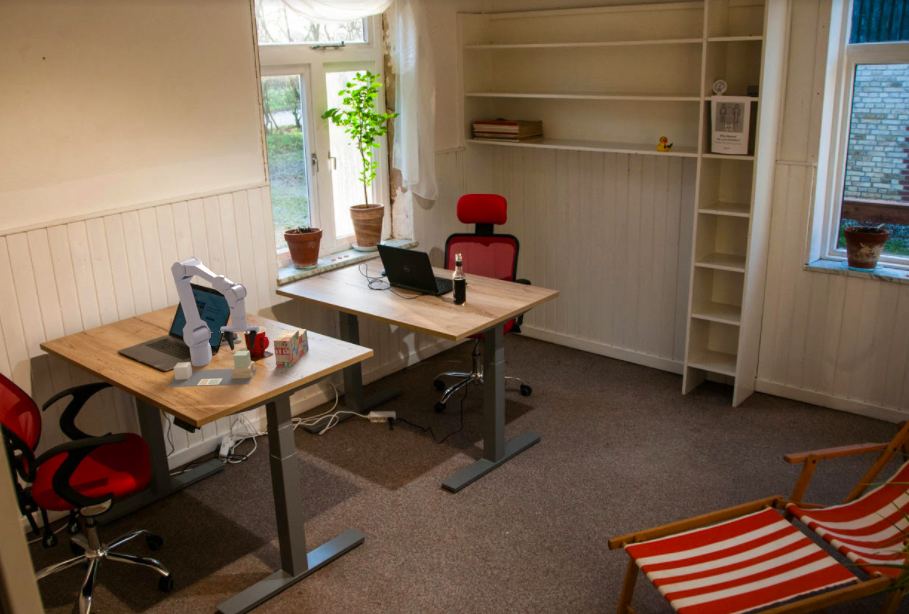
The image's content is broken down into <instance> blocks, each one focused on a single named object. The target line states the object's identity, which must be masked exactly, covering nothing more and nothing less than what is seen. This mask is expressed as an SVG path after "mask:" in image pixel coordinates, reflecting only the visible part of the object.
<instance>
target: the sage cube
mask: <svg viewBox="0 0 909 614" xmlns="http://www.w3.org/2000/svg"><path fill="white" fill-rule="evenodd" d="M251 358H252V357H251V352H250V350H236V351H235V353H234V354H233V365H235V368H246V367H249V365H250V363H251V362H252V360H251Z"/></svg>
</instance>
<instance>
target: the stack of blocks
mask: <svg viewBox="0 0 909 614" xmlns="http://www.w3.org/2000/svg"><path fill="white" fill-rule="evenodd" d="M273 347H274V348H273V349H274V357H275V366H276V367H282V368H292V367H293V366H294V364H296V363H297V361H299V359H300V358H301V357H302V356H303V355H305V354H306V353H307V352H308V351H309V350H310V349H309V348H310V347H309V339H308V333H307V329H306V328H304V329H303V328H300V329H299V328H293V329H292V328H291V329H283V330H282V331H281V333H280V334H279V335H278V336H277V337H275V338H274V339H273Z"/></svg>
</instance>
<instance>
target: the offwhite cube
mask: <svg viewBox="0 0 909 614" xmlns="http://www.w3.org/2000/svg"><path fill="white" fill-rule="evenodd" d="M192 370H193V368H192V361H191V362H189V361H186V362H185V361H184V362H177V363H176V364H175V365H174V366H173V372H174V378H175V380H177V379H189V378H190V376H191V375H192Z"/></svg>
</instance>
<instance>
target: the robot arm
mask: <svg viewBox="0 0 909 614" xmlns="http://www.w3.org/2000/svg"><path fill="white" fill-rule="evenodd" d="M170 270H171V273H172V277H173V281H174V285H175V288H176V291H177V294H178V298H179V301H180V305H181V308H182V311H183V314H184V318H185V321H186V323H185V325H184V327H183V328H182V332H183V336H182V337H183V341H184V343H185V345H187V347H189V353H190V359H191V366H193V367H204V366H208V365H209V364H211V361H212V359H213V353H212V347H211V345H210V343H209V339H210V338H211V333H212V331H211V329H210V328H209V326H208V324H207V322H206V321H204V320H202V319H201V316H200V312H199V310H198V306H197V302H196V299H195V296H194V292H193V289H192V286H191V281H192V279H193V277H194V276H198V277H200V278H201V279H203V280H204V281H207V282H209V283H210V284H211V286H212V288H213V289H214V290H216V291H218V292H219V293H220V294H222V295H224V298H225V300H226V302H227V305H228V307H229V312H230V313H229V314H230V315H229V316H230V323H231V325H226V326H224V325H223V326H221V327H220V329H219V330H220V331H221V333H224V335H223V336H224V338H225V339H226V340H227V342H228V346H229V348H230V351H234V349H235V344H234V342H233V332H237V333H241V332H243V333H247V332H248V338H249V340H248V341H249V346H250V350H251V351H253V350H254V348H255V341H256V337H257V333H259V332H260V329H261V328H260V325H254V324H248V321H247V311H246V305H245V303H246V302H245V298H246V297H247V294H248V293H247V292H248V291H247V288H246V286H244V285H243V284H242V283H235V282H233V281H231V280H229V279H228V278H226V276H225V275H222V274H219V275H216V273H214V272H212V271H211V270H210V269H209V268H207V267H206V266H204V264H203V262H202V260H201V259H199V258H198V257H196V256H191V257H188V258H187V259H183V260H179V261H176V262H173V264H172V266H171V268H170Z"/></svg>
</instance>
